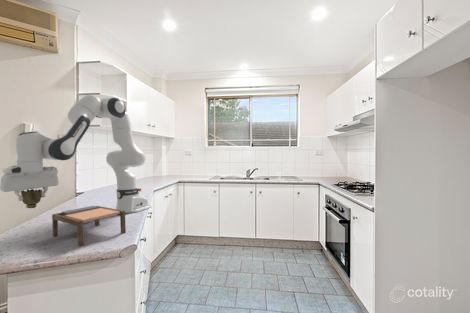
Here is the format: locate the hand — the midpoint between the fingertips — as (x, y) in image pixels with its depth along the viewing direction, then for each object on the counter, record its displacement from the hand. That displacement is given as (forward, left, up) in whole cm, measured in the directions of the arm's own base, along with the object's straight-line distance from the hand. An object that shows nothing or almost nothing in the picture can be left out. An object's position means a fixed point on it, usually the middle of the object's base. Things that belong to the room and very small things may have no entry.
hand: (32, 198), depth 111 cm
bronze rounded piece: (+1, 0, -4) cm, 4 cm away
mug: (-22, -5, -18) cm, 28 cm away
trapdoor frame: (-15, +19, -17) cm, 30 cm away
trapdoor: (-15, +20, -9) cm, 26 cm away
